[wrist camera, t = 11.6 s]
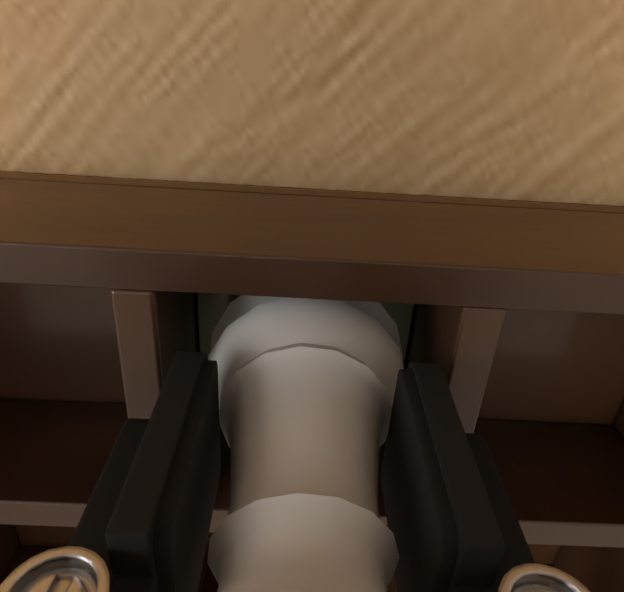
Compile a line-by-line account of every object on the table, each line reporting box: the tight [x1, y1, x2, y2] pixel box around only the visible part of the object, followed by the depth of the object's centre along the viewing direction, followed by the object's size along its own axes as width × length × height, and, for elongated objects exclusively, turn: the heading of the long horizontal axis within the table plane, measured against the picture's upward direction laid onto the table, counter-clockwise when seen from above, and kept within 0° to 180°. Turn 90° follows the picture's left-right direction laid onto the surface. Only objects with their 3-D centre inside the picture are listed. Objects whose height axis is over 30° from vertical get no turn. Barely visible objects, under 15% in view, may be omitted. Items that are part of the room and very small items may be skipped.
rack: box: [0, 171, 624, 592], centre depth 14 cm, size 13×20×4 cm
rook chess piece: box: [207, 295, 404, 592], centre depth 9 cm, size 4×4×8 cm
